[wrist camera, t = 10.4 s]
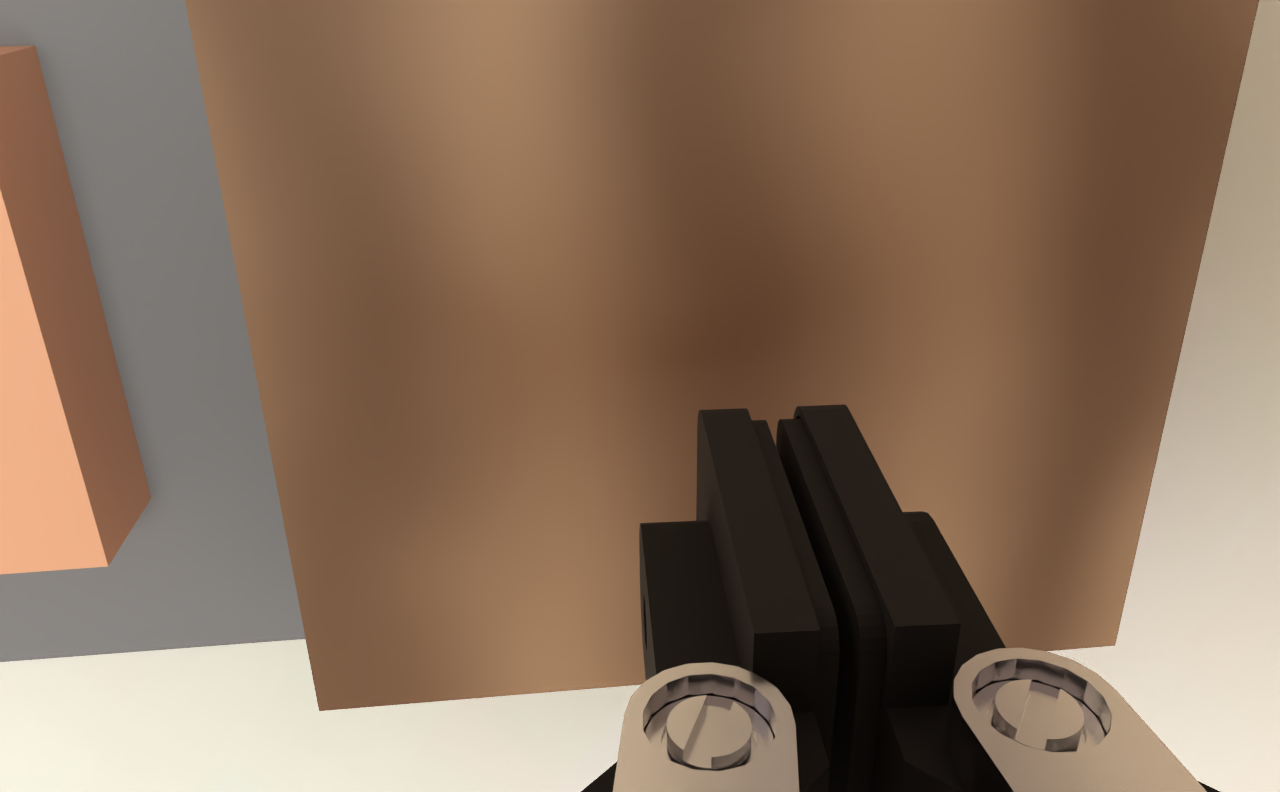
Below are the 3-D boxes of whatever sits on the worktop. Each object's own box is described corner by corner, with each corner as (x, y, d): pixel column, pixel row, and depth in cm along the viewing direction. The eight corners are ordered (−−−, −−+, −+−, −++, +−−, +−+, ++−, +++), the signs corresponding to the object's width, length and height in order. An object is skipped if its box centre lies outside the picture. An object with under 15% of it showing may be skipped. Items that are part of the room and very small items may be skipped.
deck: (1139, -110, 19) (1284, -114, 15) (1029, 539, 25) (1114, 645, 21) (239, -95, 18) (166, -97, 14) (350, 588, 24) (319, 711, 20)
